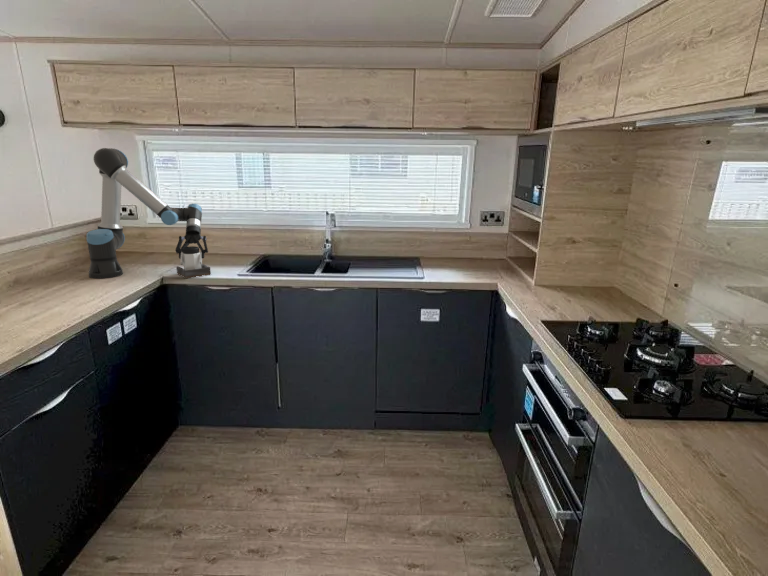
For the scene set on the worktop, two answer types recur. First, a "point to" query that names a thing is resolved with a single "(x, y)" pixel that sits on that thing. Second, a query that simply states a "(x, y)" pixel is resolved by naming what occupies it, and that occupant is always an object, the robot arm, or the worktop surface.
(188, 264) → the jar
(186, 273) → the keeper bracket
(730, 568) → the worktop surface
